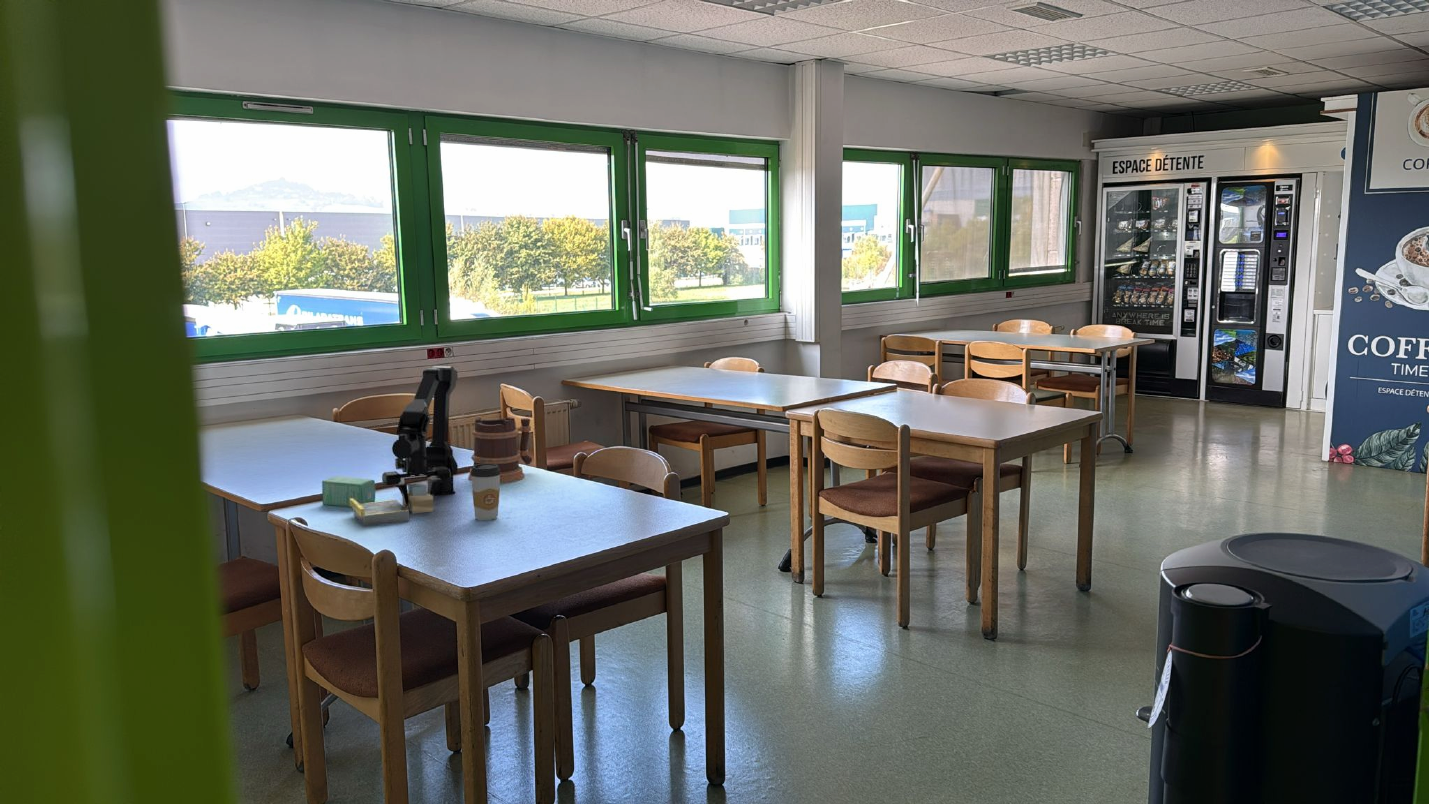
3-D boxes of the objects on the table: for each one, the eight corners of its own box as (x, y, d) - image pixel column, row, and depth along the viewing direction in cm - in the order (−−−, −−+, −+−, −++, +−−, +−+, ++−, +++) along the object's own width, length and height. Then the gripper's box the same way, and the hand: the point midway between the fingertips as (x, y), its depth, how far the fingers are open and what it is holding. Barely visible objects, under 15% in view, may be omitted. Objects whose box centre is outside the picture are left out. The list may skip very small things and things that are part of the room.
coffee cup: (475, 523, 292) (474, 470, 289) (468, 516, 299) (466, 464, 297) (505, 519, 295) (504, 467, 293) (496, 513, 303) (495, 462, 300)
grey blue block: (408, 492, 307) (407, 484, 307) (421, 490, 309) (421, 482, 309) (412, 495, 303) (412, 487, 303) (426, 494, 305) (426, 486, 305)
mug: (546, 476, 351) (545, 417, 348) (485, 486, 336) (484, 425, 333) (517, 467, 364) (516, 410, 361) (457, 476, 349) (456, 417, 346)
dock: (396, 510, 305) (395, 493, 304) (409, 521, 293) (408, 503, 292) (350, 515, 298) (349, 498, 297) (361, 527, 286) (360, 509, 286)
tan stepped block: (402, 505, 310) (402, 490, 309) (422, 503, 313) (422, 488, 313) (412, 513, 301) (412, 498, 300) (433, 511, 304) (432, 496, 303)
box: (362, 508, 307) (361, 483, 306) (322, 505, 310) (320, 480, 309) (376, 502, 314) (375, 478, 313) (336, 499, 317) (335, 475, 316)
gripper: (439, 444, 316) (441, 495, 318) (376, 450, 307) (378, 502, 309) (450, 450, 307) (452, 502, 309) (386, 457, 297) (388, 510, 299)
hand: (417, 504), depth 307 cm, fingers closed on tan stepped block, 6 cm apart
